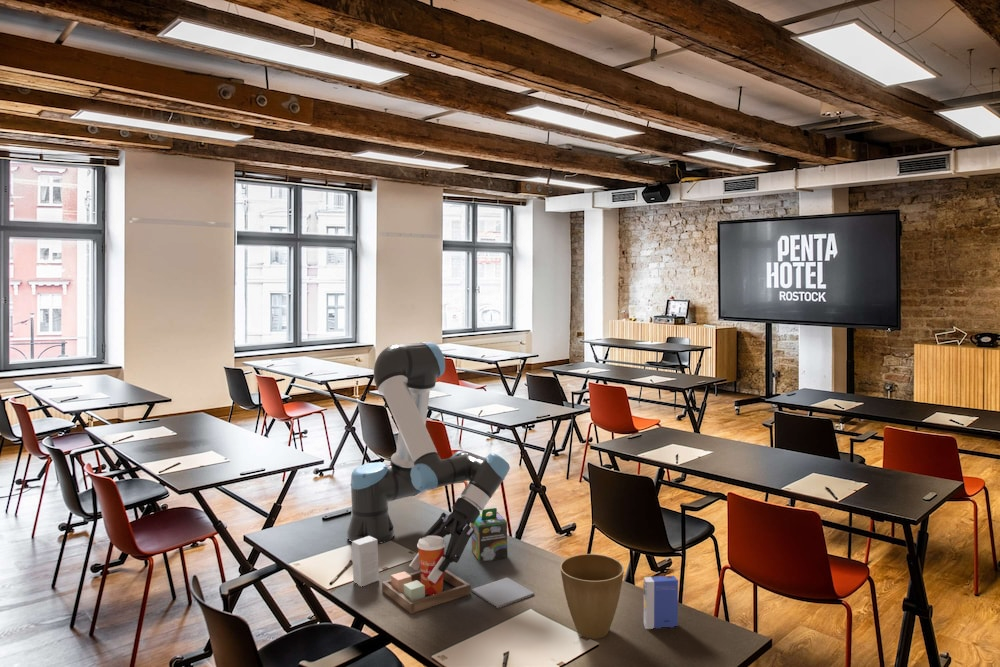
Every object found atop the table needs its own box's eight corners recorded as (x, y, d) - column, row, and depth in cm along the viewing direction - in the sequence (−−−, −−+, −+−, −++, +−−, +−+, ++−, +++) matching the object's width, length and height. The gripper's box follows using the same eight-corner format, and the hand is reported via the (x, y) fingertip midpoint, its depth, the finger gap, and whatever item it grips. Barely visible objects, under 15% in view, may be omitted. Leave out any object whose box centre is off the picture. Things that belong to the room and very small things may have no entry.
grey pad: (471, 591, 186) (471, 589, 186) (507, 579, 194) (507, 577, 193) (497, 608, 177) (497, 606, 177) (534, 595, 184) (534, 592, 184)
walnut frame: (382, 591, 187) (381, 582, 187) (439, 573, 198) (439, 565, 198) (411, 613, 174) (410, 604, 174) (470, 593, 185) (470, 584, 185)
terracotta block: (391, 593, 186) (391, 575, 186) (404, 589, 189) (404, 571, 188) (398, 598, 183) (398, 580, 183) (411, 594, 185) (411, 576, 185)
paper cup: (412, 590, 187) (411, 540, 186) (433, 581, 193) (432, 532, 192) (431, 599, 182) (430, 548, 181) (452, 589, 188) (451, 539, 186)
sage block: (404, 602, 181) (403, 584, 180) (417, 598, 183) (417, 580, 183) (411, 608, 177) (411, 589, 177) (425, 604, 180) (424, 585, 179)
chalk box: (499, 547, 217) (498, 501, 215) (508, 558, 208) (508, 510, 207) (470, 551, 214) (469, 504, 212) (479, 563, 205) (478, 514, 204)
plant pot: (561, 614, 173) (560, 552, 172) (621, 617, 171) (621, 554, 170) (560, 646, 158) (559, 579, 157) (626, 649, 157) (626, 581, 155)
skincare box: (370, 576, 197) (369, 535, 196) (379, 580, 194) (378, 539, 193) (352, 582, 193) (351, 541, 192) (360, 587, 190) (359, 545, 189)
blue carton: (673, 621, 169) (674, 573, 168) (677, 627, 166) (678, 578, 165) (642, 623, 168) (642, 575, 167) (645, 629, 165) (646, 580, 164)
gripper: (501, 522, 186) (452, 596, 178) (457, 501, 204) (410, 568, 196) (484, 507, 183) (434, 581, 175) (441, 487, 200) (393, 554, 192)
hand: (421, 574), depth 185 cm, fingers open, 9 cm apart
